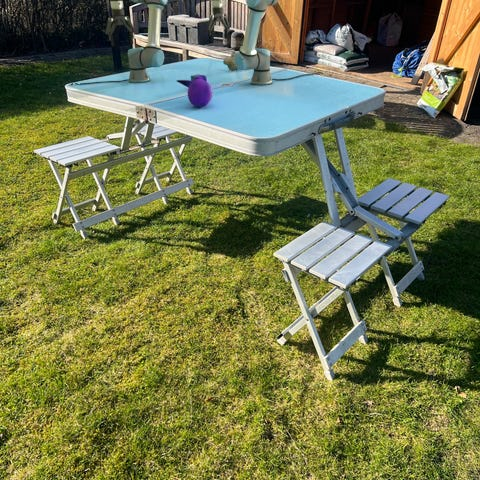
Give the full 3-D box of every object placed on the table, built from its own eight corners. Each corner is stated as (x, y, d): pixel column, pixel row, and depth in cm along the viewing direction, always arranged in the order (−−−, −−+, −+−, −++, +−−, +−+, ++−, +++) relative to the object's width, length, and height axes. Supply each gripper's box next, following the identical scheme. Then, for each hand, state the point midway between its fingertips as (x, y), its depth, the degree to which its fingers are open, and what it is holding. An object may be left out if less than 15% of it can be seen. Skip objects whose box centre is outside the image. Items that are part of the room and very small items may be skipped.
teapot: (227, 72, 362) (226, 52, 355) (220, 70, 371) (219, 51, 363) (249, 69, 371) (249, 50, 364) (242, 67, 380) (242, 48, 372)
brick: (199, 90, 308) (198, 77, 304) (191, 88, 314) (190, 75, 310) (206, 88, 312) (206, 76, 307) (199, 86, 318) (198, 74, 313)
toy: (200, 97, 287) (212, 112, 266) (174, 93, 280) (184, 108, 259) (206, 72, 279) (218, 86, 258) (178, 67, 272) (189, 80, 251)
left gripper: (101, 9, 272) (107, 47, 283) (138, 7, 286) (142, 43, 297) (96, 9, 277) (102, 46, 288) (132, 7, 291) (136, 42, 302)
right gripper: (207, 8, 309) (208, 41, 319) (234, 6, 323) (235, 38, 334) (200, 7, 314) (202, 40, 324) (227, 5, 328) (228, 37, 339)
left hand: (122, 45), depth 292 cm, fingers open, 13 cm apart
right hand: (218, 39), depth 329 cm, fingers open, 13 cm apart
